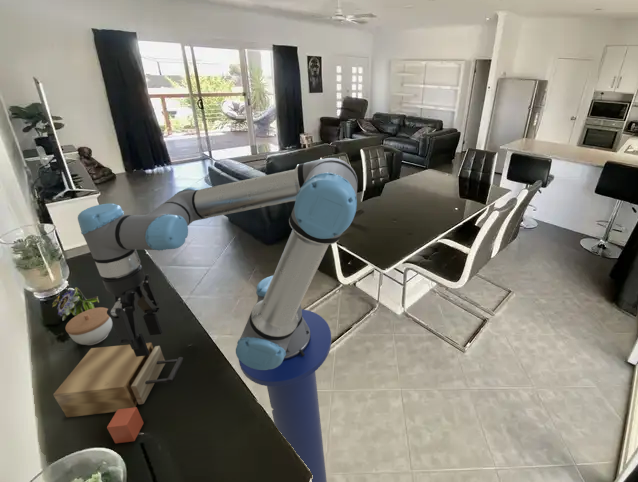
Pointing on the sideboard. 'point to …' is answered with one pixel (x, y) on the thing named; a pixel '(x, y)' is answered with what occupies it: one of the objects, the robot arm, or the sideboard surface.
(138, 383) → the drawer
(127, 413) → the block
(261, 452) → the sideboard surface
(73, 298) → the passion flower
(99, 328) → the trinket box
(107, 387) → the cabinet
